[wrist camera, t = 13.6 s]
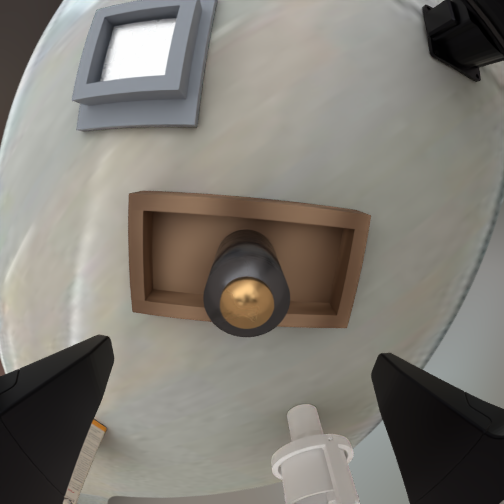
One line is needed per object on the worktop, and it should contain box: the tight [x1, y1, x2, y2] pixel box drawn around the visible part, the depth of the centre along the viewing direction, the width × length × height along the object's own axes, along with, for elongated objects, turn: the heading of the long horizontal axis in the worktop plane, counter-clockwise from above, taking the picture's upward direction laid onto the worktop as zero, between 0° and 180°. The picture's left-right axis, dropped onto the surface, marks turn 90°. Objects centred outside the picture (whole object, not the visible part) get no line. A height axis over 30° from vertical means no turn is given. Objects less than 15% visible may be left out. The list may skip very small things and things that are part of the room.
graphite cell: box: [203, 229, 290, 337], centre depth 16 cm, size 4×4×7 cm
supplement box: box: [63, 419, 107, 504], centre depth 19 cm, size 8×5×13 cm, turn 139°
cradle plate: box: [100, 18, 177, 82], centre depth 14 cm, size 5×5×1 cm
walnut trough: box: [128, 191, 371, 328], centre depth 18 cm, size 15×8×2 cm, turn 85°
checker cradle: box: [72, 0, 217, 131], centre depth 14 cm, size 9×11×3 cm
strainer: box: [271, 404, 360, 504], centre depth 17 cm, size 7×7×15 cm
